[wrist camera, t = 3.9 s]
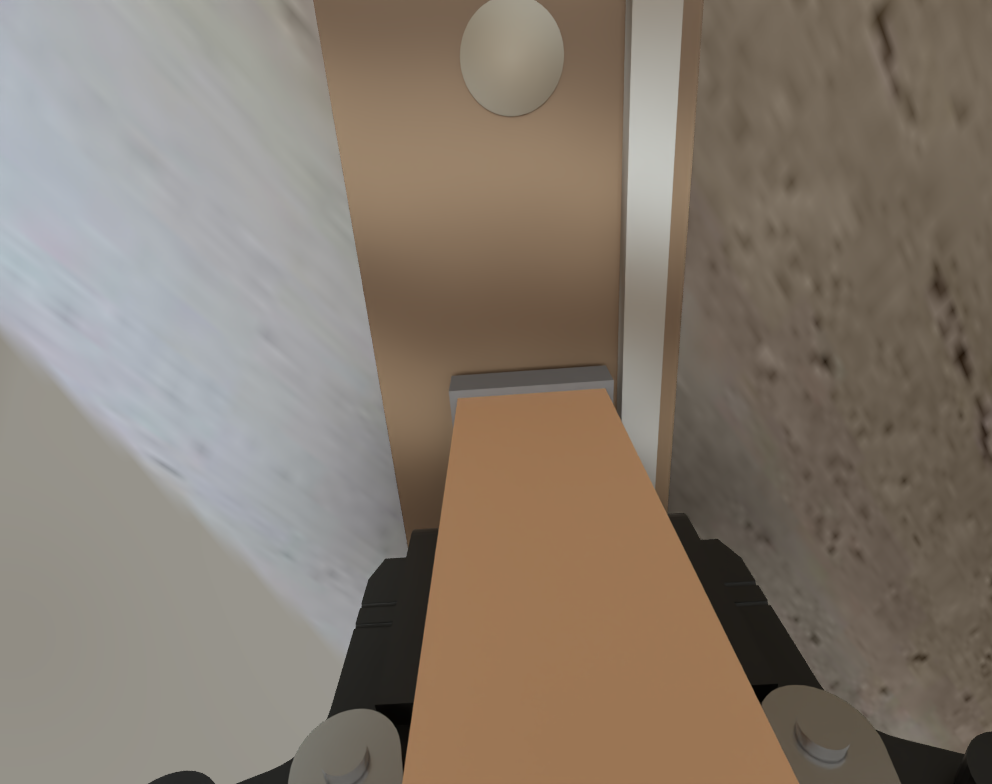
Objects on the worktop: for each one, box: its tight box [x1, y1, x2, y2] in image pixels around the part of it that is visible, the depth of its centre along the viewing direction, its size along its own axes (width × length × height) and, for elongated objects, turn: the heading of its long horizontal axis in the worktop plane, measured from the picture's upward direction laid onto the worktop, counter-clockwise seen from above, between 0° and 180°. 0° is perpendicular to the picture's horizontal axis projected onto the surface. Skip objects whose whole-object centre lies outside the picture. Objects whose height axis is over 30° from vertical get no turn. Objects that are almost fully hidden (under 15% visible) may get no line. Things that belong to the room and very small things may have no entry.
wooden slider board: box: [313, 0, 704, 547], centre depth 12 cm, size 24×8×6 cm, turn 4°
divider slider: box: [402, 365, 799, 784], centre depth 10 cm, size 4×4×10 cm
